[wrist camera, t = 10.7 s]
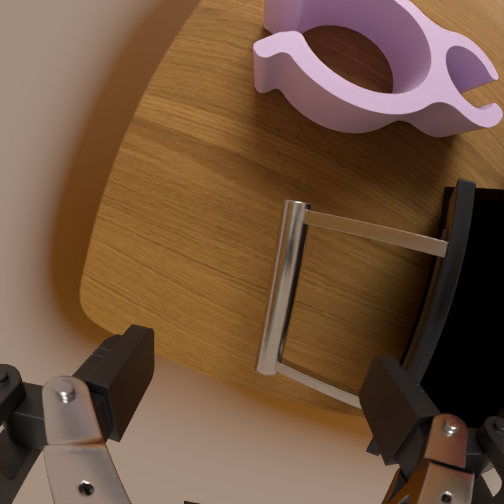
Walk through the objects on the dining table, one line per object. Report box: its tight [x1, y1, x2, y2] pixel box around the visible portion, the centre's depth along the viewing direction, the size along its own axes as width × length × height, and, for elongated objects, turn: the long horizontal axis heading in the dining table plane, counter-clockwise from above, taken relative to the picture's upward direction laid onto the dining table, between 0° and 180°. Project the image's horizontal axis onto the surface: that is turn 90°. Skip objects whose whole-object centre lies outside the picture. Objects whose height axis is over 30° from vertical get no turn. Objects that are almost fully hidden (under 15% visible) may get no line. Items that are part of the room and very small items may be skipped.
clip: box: [253, 0, 503, 137], centre depth 17 cm, size 20×12×7 cm, turn 83°
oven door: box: [254, 178, 476, 456], centre depth 20 cm, size 17×11×13 cm
